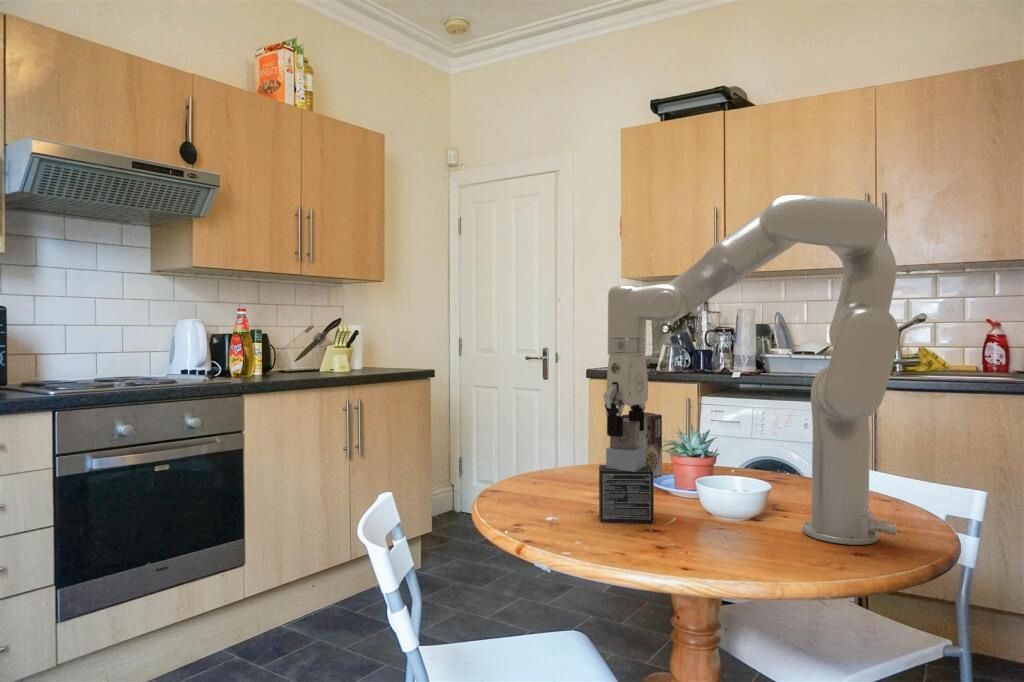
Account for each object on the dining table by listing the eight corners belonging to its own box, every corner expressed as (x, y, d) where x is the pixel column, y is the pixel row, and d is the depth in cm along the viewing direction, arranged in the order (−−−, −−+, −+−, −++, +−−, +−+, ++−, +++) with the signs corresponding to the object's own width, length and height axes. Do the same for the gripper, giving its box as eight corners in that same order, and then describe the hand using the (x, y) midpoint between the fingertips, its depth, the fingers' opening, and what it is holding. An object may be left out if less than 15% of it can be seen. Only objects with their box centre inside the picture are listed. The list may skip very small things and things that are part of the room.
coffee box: (643, 472, 181) (643, 411, 181) (662, 476, 176) (663, 414, 176) (620, 476, 175) (620, 414, 175) (639, 480, 170) (640, 416, 170)
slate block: (645, 466, 136) (645, 446, 136) (635, 471, 131) (635, 451, 131) (617, 463, 139) (617, 443, 139) (606, 468, 134) (606, 448, 134)
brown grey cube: (610, 448, 134) (610, 423, 134) (615, 444, 139) (615, 420, 139) (635, 450, 132) (635, 424, 132) (639, 445, 137) (639, 421, 137)
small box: (650, 515, 138) (651, 464, 138) (654, 524, 132) (655, 470, 132) (598, 514, 139) (598, 463, 139) (599, 523, 133) (600, 469, 132)
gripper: (624, 348, 126) (624, 440, 126) (661, 347, 140) (660, 429, 140) (589, 348, 130) (588, 436, 130) (628, 346, 144) (627, 426, 145)
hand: (626, 433), depth 135 cm, fingers open, 9 cm apart
